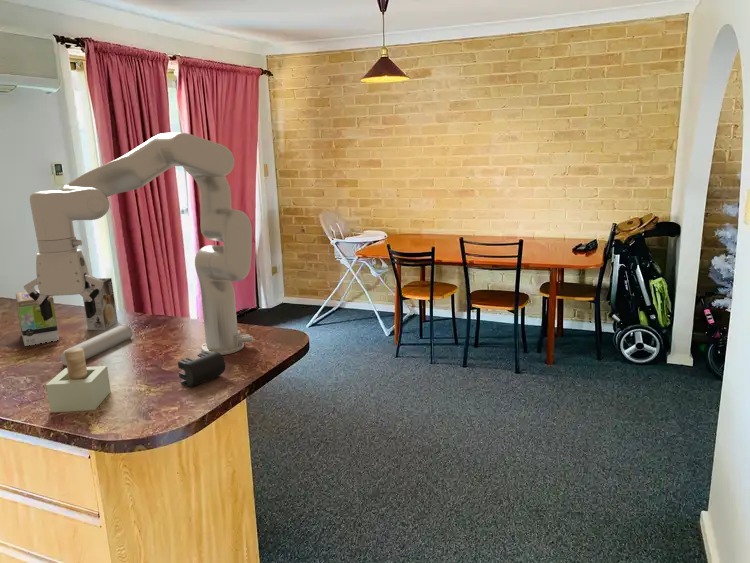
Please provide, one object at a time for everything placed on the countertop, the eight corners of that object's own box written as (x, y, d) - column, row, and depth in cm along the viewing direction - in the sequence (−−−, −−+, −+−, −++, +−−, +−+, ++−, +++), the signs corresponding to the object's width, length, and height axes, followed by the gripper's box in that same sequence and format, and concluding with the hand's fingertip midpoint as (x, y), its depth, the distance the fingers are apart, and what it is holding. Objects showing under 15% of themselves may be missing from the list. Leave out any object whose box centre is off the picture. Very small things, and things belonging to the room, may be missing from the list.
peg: (93, 393, 137) (86, 347, 134) (86, 400, 134) (78, 353, 131) (77, 394, 137) (69, 348, 134) (69, 401, 133) (61, 354, 130)
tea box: (60, 340, 180) (53, 296, 176) (24, 347, 175) (16, 301, 171) (55, 328, 192) (49, 287, 189) (21, 334, 187) (14, 292, 183)
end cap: (194, 391, 141) (192, 366, 139) (178, 384, 145) (175, 359, 143) (227, 377, 148) (225, 353, 147) (210, 371, 152) (208, 348, 151)
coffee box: (100, 321, 199) (94, 278, 195) (118, 321, 199) (112, 277, 195) (87, 330, 190) (80, 284, 186) (105, 330, 190) (99, 284, 186)
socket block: (110, 391, 141) (107, 365, 139) (94, 409, 131) (90, 382, 129) (69, 394, 140) (65, 368, 138) (50, 412, 130) (45, 384, 129)
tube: (72, 356, 156) (133, 327, 179) (57, 348, 157) (119, 321, 180) (70, 372, 157) (131, 342, 181) (55, 365, 158) (117, 335, 182)
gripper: (103, 241, 131) (113, 311, 135) (26, 244, 129) (39, 315, 134) (90, 247, 124) (101, 320, 128) (8, 250, 122) (23, 325, 126)
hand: (69, 317), depth 131 cm, fingers open, 9 cm apart
